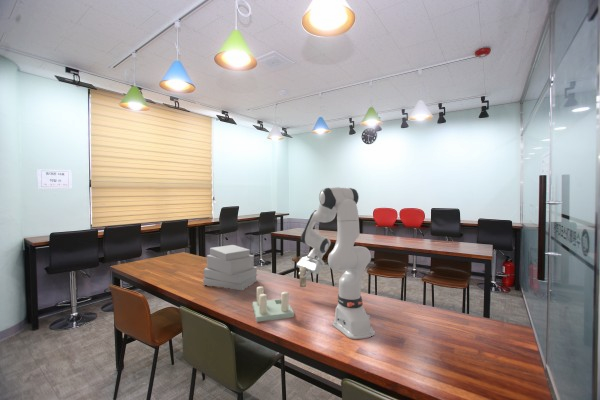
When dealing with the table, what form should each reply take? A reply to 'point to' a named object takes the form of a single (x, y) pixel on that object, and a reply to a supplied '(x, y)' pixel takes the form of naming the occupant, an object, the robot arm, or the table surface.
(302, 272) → the loose leg
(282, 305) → the stool seat
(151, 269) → the table surface
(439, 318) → the table surface
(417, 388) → the table surface
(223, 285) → the book stack
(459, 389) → the table surface
